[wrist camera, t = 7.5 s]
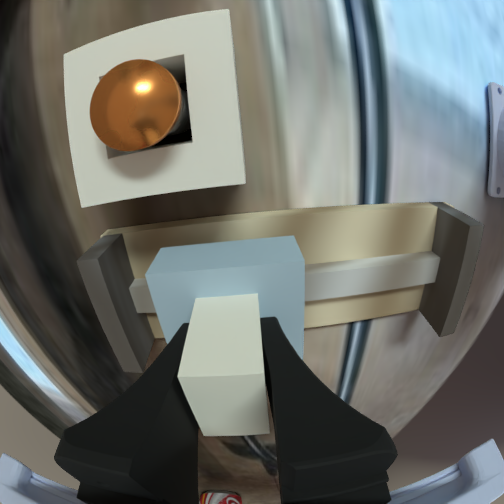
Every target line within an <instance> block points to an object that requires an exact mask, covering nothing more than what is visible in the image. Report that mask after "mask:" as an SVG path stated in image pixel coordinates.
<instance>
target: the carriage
mask: <svg viewBox="0 0 504 504" xmlns="http://www.w3.org/2000/svg"><path fill="white" fill-rule="evenodd" d="M145 277H146V280H147V284H148V287H149V290H150V294H151V297H152V300H153V303H154V307H155V310H156V313H157V316H158V319H159V322H160V325H161V328H162V331H163V334H164V337H165V339H166V342H167V344H168V343H169V342H170V340H171V339H172V338H173V336H174V335H175V333H176V332H177V331H178V329H179V328H180V327H181V325H182V324H183V323H189V327H188V332H187V336H186V340H185V345H184V349H183V354H182V358H181V363H180V367H179V372H178V376H177V377H178V379H179V382H180V384H181V386H182V389H183V391H184V394H185V396H186V398H187V400H188V403H189V405H190V407H191V409H192V412H193V414H194V416H195V418H196V420H197V422H198V425H199V427H200V429H201V431H202V433H203V435H204V436H239V435H258V434H270V429H269V417H268V404H267V392H266V381H265V370H264V359H263V348H262V337H261V325H260V318H263V317H274V316H275V317H276V318H277V319H278V321H279V324H280V326H281V328H282V330H283V332H284V334H285V335H286V337H287V339H288V340H289V342H290V344H291V345H292V346H293V348H294V349H295V351H296V352H297V354H298V355H299V356H300V358H301V359H302V360H303V345H304V306H305V260H304V258H303V255H302V253H301V251H300V248H299V246H298V244H297V242H296V239H295V237H294V235H292V236H281V237H270V238H258V239H247V240H237V241H226V242H215V243H205V244H195V245H184V246H174V247H164V248H161V249H160V250H159V252H158V254H157V255H156V257H155V259H154V260H153V262H152V264H151V265H150V267H149V269H148V270H147V272H146V274H145Z"/></svg>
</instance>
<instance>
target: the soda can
mask: <svg viewBox="0 0 504 504" xmlns="http://www.w3.org/2000/svg"><path fill="white" fill-rule="evenodd" d="M199 504H242V501H241V497H240V496H238V495H236V494H235V493H233V492H230V491H222V490H212V491H207V492H206V493H204V494H202V495H201V496H200V501H199Z"/></svg>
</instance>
